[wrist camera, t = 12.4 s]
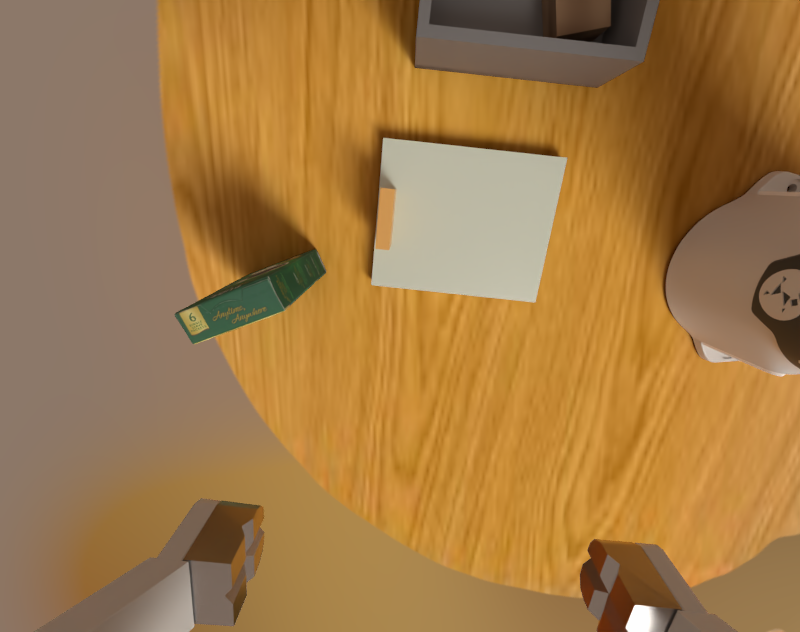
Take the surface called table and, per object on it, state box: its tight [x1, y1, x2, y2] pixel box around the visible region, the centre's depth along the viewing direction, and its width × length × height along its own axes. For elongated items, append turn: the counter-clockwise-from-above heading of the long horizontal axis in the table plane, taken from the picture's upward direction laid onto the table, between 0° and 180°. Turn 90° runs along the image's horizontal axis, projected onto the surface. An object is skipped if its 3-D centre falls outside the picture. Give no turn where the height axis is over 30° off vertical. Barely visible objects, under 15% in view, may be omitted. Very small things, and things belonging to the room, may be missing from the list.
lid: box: [371, 138, 567, 302], centre depth 35 cm, size 16×13×6 cm
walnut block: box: [542, 0, 611, 42], centre depth 30 cm, size 4×4×3 cm
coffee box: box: [175, 249, 326, 344], centre depth 33 cm, size 8×3×13 cm, turn 111°
